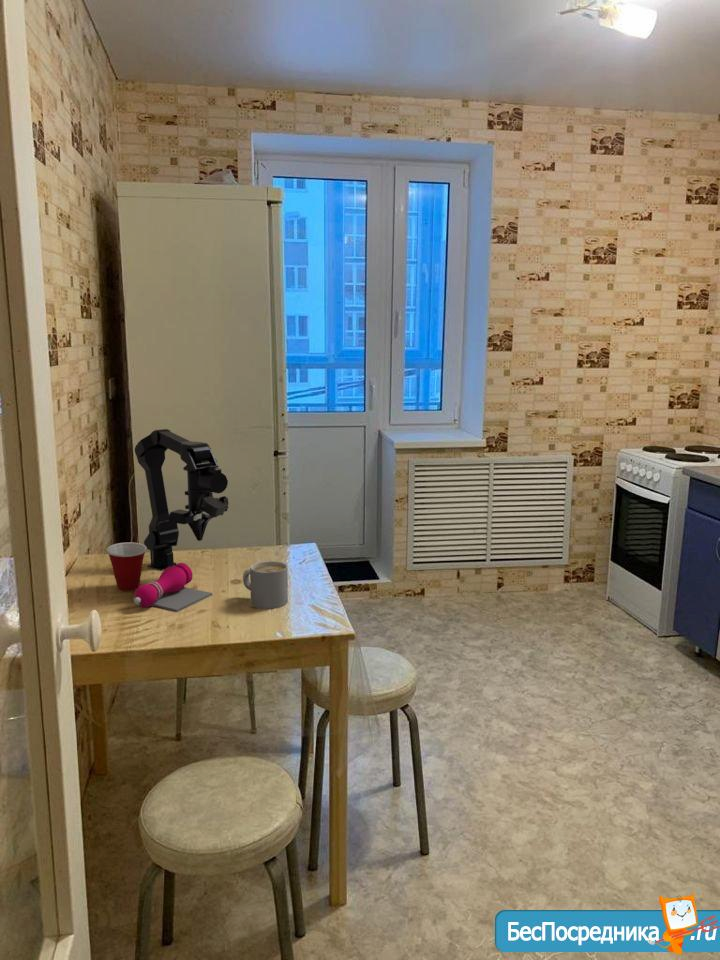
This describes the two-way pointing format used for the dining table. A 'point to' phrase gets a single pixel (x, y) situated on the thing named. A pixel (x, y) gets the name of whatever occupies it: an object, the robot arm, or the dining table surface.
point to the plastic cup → (127, 564)
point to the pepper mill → (163, 584)
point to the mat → (180, 599)
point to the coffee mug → (267, 584)
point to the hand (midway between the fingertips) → (199, 540)
